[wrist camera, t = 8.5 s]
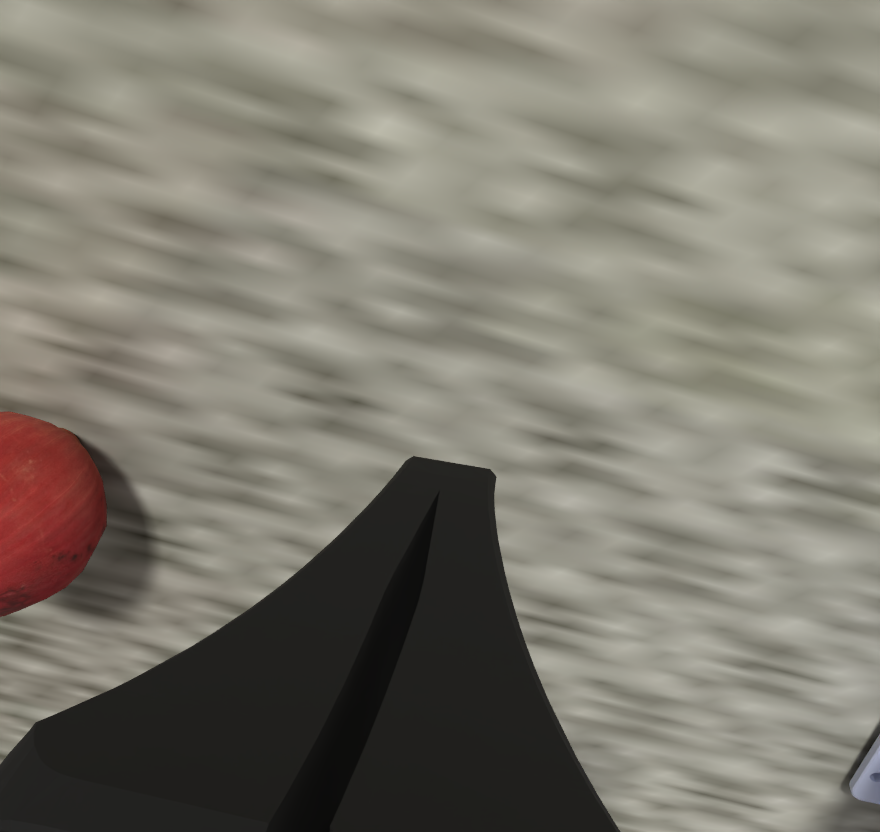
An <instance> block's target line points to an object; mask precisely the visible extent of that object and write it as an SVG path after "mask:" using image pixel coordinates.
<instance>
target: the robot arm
mask: <svg viewBox="0 0 880 832" xmlns="http://www.w3.org/2000/svg"><path fill="white" fill-rule="evenodd" d="M495 483H496V476H495V474H494V473H493V472H492V471H491V470H490V469H486V468H480V467H474V466H468V465H462V464H456V463H450V462H444V461H439V460H433V459H427V458H421V457H415V456H413V457H411V458H410V459H408V460H406V461H405V463H404V464H403V465H402V467H401V468H400V469H399V470H398V472H397V473H396V474H395V475H394V477H393V478H392V479H391V480H390V481H389V482H388V484H387V485H386V486H385V487H384V488H383V489H382V491H381V492H380V493H379V494H378V495H377V496H376V497H375V498H374V499H373V500H372V502H371V503H370V504H369V505H368V506H367V507H366V508H365V509H364V510H363V511H362V512H361V513H360V514H359V515H358V516H357V517H356V518H355V519H354V520H353V521H352V522H351V523H350V524H349V525H348V526H347V527H346V528H345V529H344V530H343V531H342V532H341V533H340V534H339V535H338V536H337V537H336V538H335V539H334V540H333V541H332V542H331V543H330V544H329V545H327V546H326V547H325V548H324V549H323V550H322V551H321V552H320V553H318V554H317V555H316V556H315V557H314V558H313V559H312V560H311V561H310V562H308V563H307V564H306V565H305V566H304V567H303V568H302V569H300V570H299V571H298V572H297V573H296V574H294V575H293V576H292V577H291V578H290V579H288V580H287V581H286V582H285V583H283V584H282V585H281V586H280V587H278V588H277V589H276V590H274V591H273V592H272V593H270V594H269V595H268V596H266V597H265V598H264V599H262V600H261V601H260V602H258V603H257V604H256V605H254V606H253V607H251V608H250V609H249V610H247V611H246V612H244V613H243V614H241V615H240V616H238V617H237V618H235V619H234V620H232V621H231V622H229V623H228V624H226V625H225V626H223V627H222V628H220V629H219V630H217V631H216V632H214V633H213V634H211V635H209V636H208V637H206V638H205V639H203V640H201V641H200V642H198V643H196V644H195V645H193V646H192V647H190V648H188V649H186V650H185V651H183V652H181V653H179V654H177V655H175V656H174V657H172V658H170V659H168V660H166V661H165V662H163V663H161V664H159V665H157V666H155V667H154V668H152V669H150V670H148V671H146V672H145V673H143V674H141V675H139V676H137V677H135V678H133V679H131V680H130V681H128V682H126V683H124V684H122V685H120V686H118V687H116V688H113V689H111V690H109V691H107V692H105V693H102V694H100V695H98V696H96V697H93V698H91V699H89V700H87V701H84V702H82V703H80V704H78V705H75V706H73V707H71V708H69V709H66V710H64V711H62V712H60V713H57V714H55V715H53V716H50V717H48V718H45V719H43V720H41V721H38V722H36V723H35V724H34V725H33V727H32V728H31V729H30V730H29V732H28V733H27V734H26V735H25V736H24V737H23V739H22V740H21V741H20V742H19V743H18V744H17V745H16V746H15V747H14V748H13V750H12V751H11V752H10V753H9V754H8V755H7V757H6V758H5V759H4V761H3V762H2V763H1V764H0V832H620V830H619V829H618V827H617V826H616V824H615V823H614V821H613V819H612V818H611V816H610V814H609V813H608V811H607V809H606V808H605V806H604V805H603V803H602V801H601V800H600V798H599V796H598V795H597V793H596V791H595V789H594V788H593V786H592V784H591V782H590V780H589V779H588V777H587V775H586V773H585V772H584V770H583V768H582V766H581V764H580V763H579V761H578V759H577V757H576V755H575V753H574V751H573V749H572V747H571V745H570V743H569V741H568V739H567V737H566V735H565V733H564V731H563V729H562V727H561V725H560V723H559V721H558V719H557V717H556V715H555V713H554V711H553V709H552V707H551V704H550V702H549V700H548V698H547V696H546V694H545V691H544V689H543V686H542V684H541V682H540V679H539V677H538V674H537V672H536V670H535V667H534V665H533V662H532V659H531V657H530V654H529V651H528V649H527V646H526V643H525V640H524V637H523V635H522V632H521V629H520V625H519V622H518V619H517V616H516V613H515V609H514V606H513V602H512V599H511V595H510V592H509V588H508V584H507V580H506V576H505V572H504V567H503V562H502V557H501V552H500V547H499V542H498V535H497V528H496V519H495V507H494V490H495ZM849 786H850V790H851V793H852V795H853V796H854V797H855V798H856V799H859V800H862V801H866V802H870V803H875V804H880V734H879V736H878V737H877V739H876V741H875V742H874V744H873V745H872V747H871V749H870V750H869V752H868V753H867V755H866V757H865V758H864V760H863V761H862V763H861V765H860V766H859V768H858V769H857V771H856V773H855V774H854V776H853V777H852V779H851V781H850V783H849Z"/></svg>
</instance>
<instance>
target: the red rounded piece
mask: <svg viewBox="0 0 880 832" xmlns="http://www.w3.org/2000/svg"><path fill="white" fill-rule="evenodd" d="M106 526H107V504H106V498H105V492H104V487H103V481H102V479H101V476H100V474H99V472H98V469H97V467H96V465H95V464H94V462H93V460H92V459H91V457H90V455H89V454H88V452H87V450H86V449H85V448H84V447H83V446H82V445H81V444H80V441H79V439H78V438H77V437H76V436H75V435H74V434H73V433H71V432H70V431H68V430H66V429H64V428H58V427H57V426H55V425H53V424H52V423H49V422H46V421H42V420H39V419H36V418H33V417H30V416H26V415H22V414H18V413H14V412H0V617H1V616H5V615H8V614H11V613H13V612H16V611H19V610H21V609H24V608H26V607H28V606H31V605H33V604H35V603H38V602H40V601H42V600H44V599H47V598H48V597H50V596H52V595H54V594H55V593H57V592H59V591H61V590H62V589H64V588H66V587H67V586H68V585H69V584H70V583H71V582H72V581H73V580H74V579H75V578H76V577H77V576H78V575H79V574H80V573H81V572H82V571H83V570H84V568H85V566H86V564H87V562H88V561H89V559H90V557H91V555H92V553H93V552H94V550H95V548H96V546H97V544H98V542H99V540H100V538H101V536H102V534H103V532H104V530H105V528H106Z"/></svg>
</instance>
